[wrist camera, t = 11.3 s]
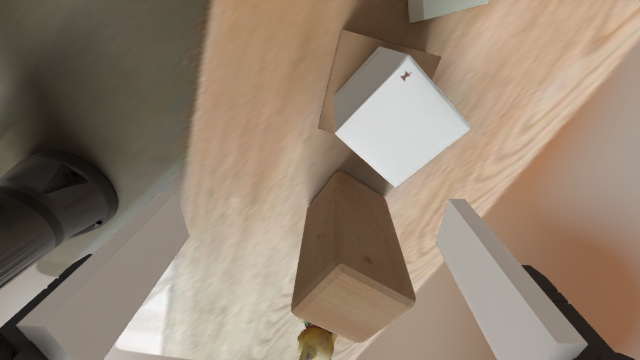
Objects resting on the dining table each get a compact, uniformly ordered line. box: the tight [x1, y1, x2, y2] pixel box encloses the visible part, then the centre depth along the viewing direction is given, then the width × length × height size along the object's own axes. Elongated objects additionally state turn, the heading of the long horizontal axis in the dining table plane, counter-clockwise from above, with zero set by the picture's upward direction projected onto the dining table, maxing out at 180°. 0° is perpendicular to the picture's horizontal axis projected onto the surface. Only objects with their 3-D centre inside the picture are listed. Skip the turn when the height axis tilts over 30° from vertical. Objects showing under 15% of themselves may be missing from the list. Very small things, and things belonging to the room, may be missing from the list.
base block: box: [318, 30, 441, 133], centre depth 32 cm, size 11×11×6 cm
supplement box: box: [333, 46, 471, 187], centre depth 24 cm, size 7×7×13 cm
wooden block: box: [291, 170, 416, 343], centre depth 35 cm, size 10×10×20 cm
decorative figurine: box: [297, 318, 337, 360], centre depth 49 cm, size 10×8×15 cm
